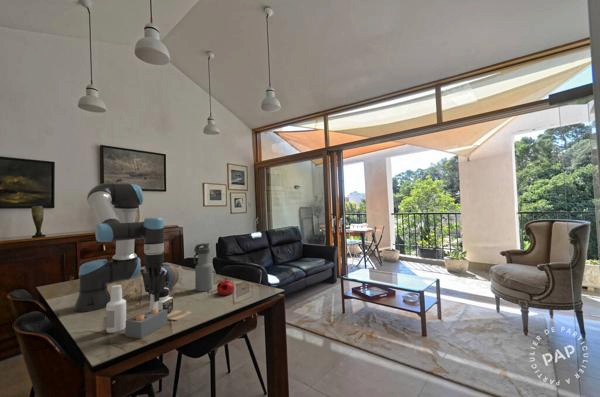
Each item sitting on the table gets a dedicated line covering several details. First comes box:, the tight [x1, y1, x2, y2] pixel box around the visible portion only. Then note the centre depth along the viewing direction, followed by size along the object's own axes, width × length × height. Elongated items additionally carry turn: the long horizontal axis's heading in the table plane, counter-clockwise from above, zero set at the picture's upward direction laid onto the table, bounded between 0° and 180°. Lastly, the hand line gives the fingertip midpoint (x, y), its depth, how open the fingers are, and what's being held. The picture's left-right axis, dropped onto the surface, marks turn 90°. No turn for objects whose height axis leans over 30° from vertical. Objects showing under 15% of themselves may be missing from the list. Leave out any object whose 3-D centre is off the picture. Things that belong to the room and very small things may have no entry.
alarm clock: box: [163, 262, 182, 297], centre depth 155 cm, size 14×10×18 cm
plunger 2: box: [149, 308, 158, 314], centre depth 112 cm, size 3×3×6 cm
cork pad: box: [167, 309, 192, 322], centre depth 122 cm, size 9×9×1 cm
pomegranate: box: [216, 277, 235, 296], centre depth 153 cm, size 10×10×9 cm
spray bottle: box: [105, 284, 127, 334], centre depth 110 cm, size 7×7×18 cm
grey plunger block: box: [125, 309, 168, 339], centre depth 109 cm, size 8×13×6 cm, turn 163°
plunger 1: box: [135, 314, 144, 321], centre depth 105 cm, size 3×3×6 cm
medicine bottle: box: [158, 288, 174, 314], centre depth 125 cm, size 7×7×12 cm
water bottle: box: [193, 242, 213, 292], centre depth 162 cm, size 10×10×28 cm
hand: (154, 308), depth 112 cm, fingers closed
